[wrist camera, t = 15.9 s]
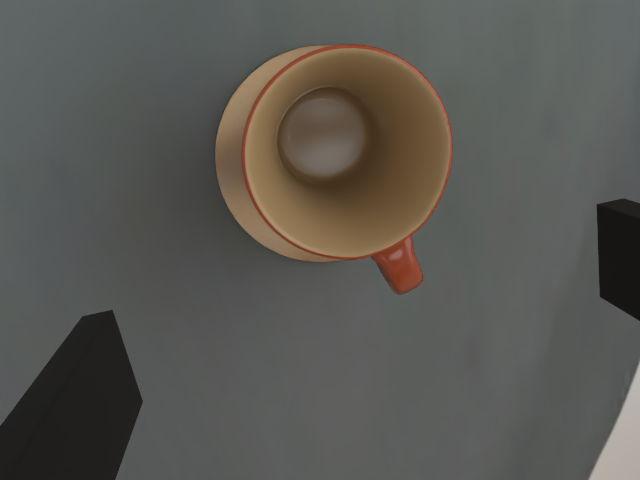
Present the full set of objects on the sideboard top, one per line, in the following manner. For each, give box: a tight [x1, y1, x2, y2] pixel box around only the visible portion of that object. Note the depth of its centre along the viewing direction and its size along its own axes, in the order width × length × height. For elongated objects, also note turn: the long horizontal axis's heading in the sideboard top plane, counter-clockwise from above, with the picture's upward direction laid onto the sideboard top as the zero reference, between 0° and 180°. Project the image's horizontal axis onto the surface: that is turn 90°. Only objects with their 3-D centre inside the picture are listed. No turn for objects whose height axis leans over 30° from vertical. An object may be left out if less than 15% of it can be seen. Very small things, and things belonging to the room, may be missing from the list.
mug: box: [241, 44, 452, 295], centre depth 27 cm, size 12×9×10 cm
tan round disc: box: [215, 45, 345, 262], centre depth 32 cm, size 13×13×1 cm
